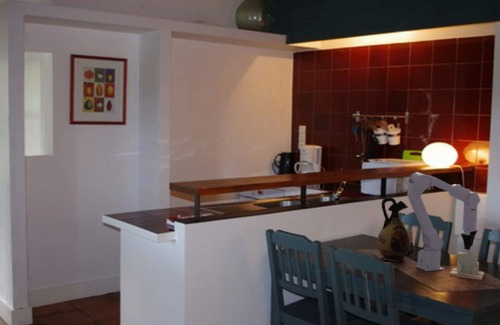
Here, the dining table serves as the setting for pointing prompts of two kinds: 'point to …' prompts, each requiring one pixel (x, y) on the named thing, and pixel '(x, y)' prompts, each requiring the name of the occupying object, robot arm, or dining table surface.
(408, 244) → the ceramic jug
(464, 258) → the door
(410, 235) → the ammunition clip
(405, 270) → the dining table surface
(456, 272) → the hinge bracket
